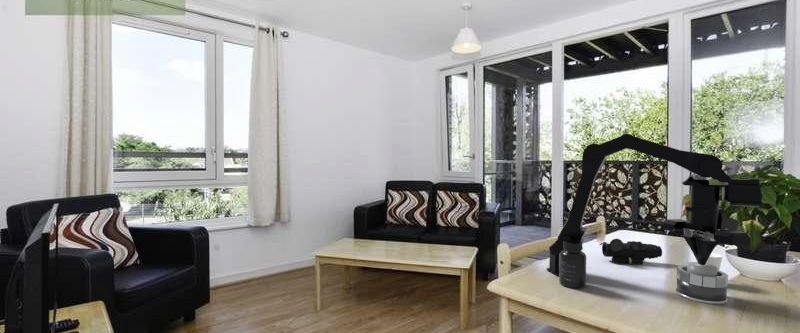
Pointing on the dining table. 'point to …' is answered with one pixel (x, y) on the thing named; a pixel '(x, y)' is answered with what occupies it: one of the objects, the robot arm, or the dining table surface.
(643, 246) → the night vision scope
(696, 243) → the robot arm
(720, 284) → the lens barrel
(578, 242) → the supplement bottle
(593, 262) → the dining table surface
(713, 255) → the cup
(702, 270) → the grey squat block
